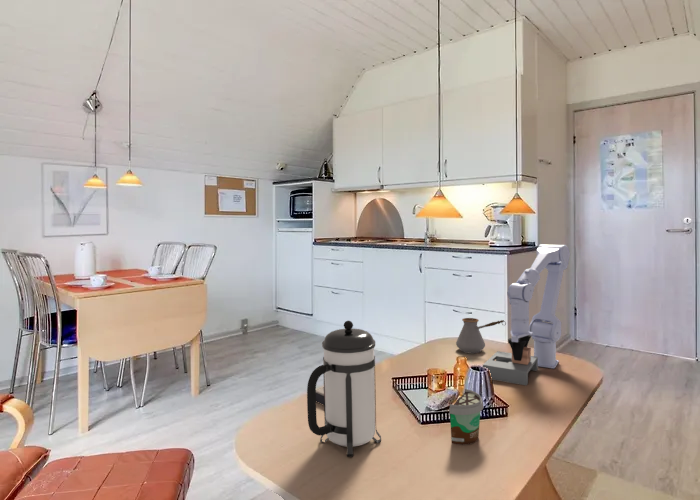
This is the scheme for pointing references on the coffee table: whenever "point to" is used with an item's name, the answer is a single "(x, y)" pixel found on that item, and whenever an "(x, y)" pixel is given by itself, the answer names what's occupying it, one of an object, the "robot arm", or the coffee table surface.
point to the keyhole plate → (510, 368)
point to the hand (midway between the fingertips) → (519, 358)
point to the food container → (465, 418)
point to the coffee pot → (472, 336)
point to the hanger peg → (524, 356)
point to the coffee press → (346, 389)
